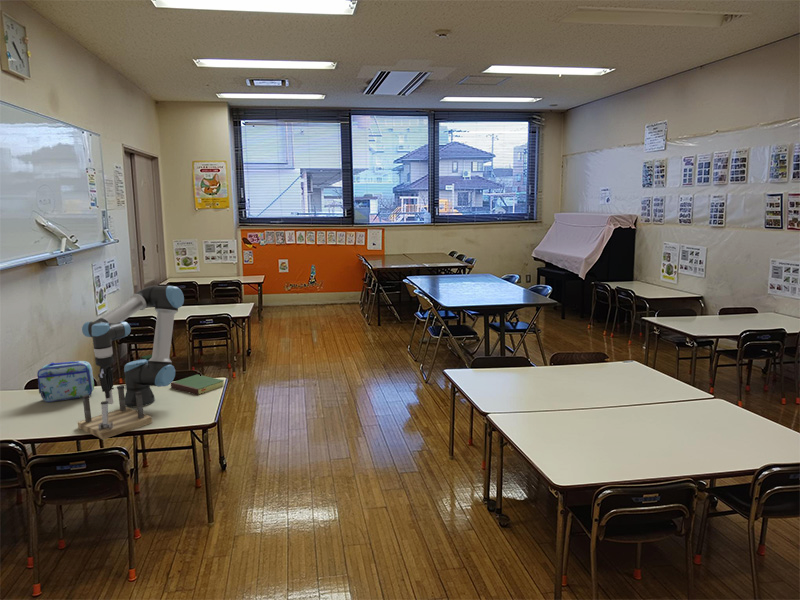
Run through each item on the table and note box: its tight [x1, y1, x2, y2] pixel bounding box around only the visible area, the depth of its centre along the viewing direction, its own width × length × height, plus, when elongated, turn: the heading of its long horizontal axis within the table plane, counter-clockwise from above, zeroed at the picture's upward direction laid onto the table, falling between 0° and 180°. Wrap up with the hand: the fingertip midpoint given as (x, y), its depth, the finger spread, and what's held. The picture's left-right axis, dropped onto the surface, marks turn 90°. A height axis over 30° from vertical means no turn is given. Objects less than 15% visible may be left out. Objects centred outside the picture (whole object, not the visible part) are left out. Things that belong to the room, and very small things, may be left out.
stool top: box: [77, 384, 153, 440], centre depth 269 cm, size 24×24×16 cm
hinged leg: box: [100, 400, 109, 429], centre depth 258 cm, size 13×3×2 cm
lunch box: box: [36, 360, 95, 403], centre depth 309 cm, size 26×11×21 cm, turn 108°
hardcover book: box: [170, 373, 225, 396], centre depth 326 cm, size 25×19×4 cm
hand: (109, 403), depth 264 cm, fingers closed
